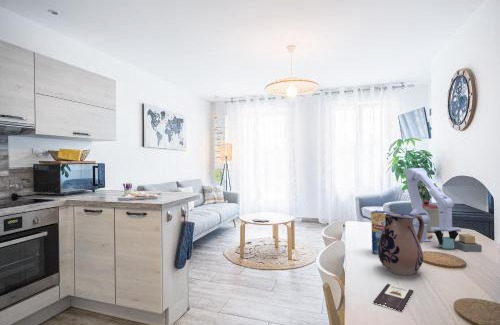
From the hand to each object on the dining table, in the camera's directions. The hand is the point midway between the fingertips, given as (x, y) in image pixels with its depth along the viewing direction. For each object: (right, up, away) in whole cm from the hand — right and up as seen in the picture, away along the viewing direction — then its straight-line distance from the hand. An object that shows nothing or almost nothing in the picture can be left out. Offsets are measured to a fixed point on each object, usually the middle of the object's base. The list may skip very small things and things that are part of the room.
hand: (446, 244), depth 150 cm
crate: (+10, -2, -2) cm, 10 cm away
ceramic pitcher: (-40, -3, -29) cm, 50 cm away
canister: (+14, -2, +38) cm, 41 cm away
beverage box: (-37, -3, -7) cm, 38 cm away
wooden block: (+10, -1, -2) cm, 10 cm away
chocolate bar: (-56, -4, -52) cm, 77 cm away
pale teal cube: (0, -1, 0) cm, 1 cm away
